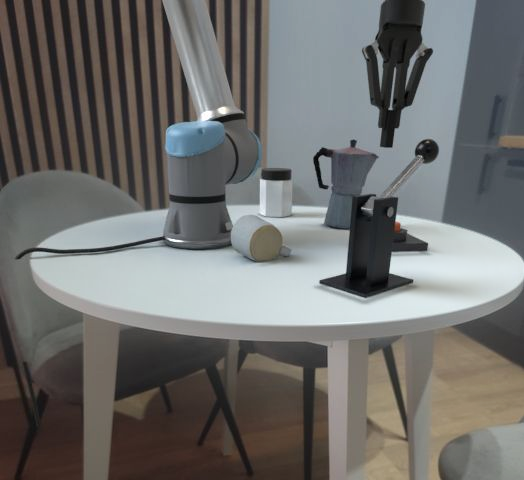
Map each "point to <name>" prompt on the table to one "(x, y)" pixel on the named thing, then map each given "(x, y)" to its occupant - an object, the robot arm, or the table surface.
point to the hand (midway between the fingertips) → (386, 147)
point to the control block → (407, 242)
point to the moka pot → (344, 180)
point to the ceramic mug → (257, 239)
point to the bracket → (369, 250)
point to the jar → (276, 192)
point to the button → (397, 227)
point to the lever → (405, 173)
